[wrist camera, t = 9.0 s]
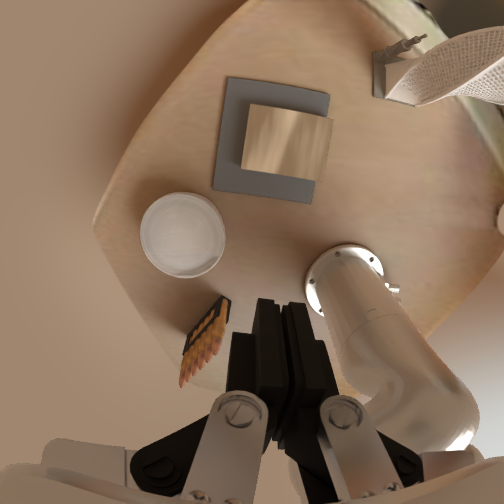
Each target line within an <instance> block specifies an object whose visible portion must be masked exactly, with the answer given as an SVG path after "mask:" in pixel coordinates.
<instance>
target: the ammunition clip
mask: <svg viewBox="0 0 504 504" xmlns="http://www.w3.org/2000/svg"><path fill="white" fill-rule="evenodd" d="M230 307H231V301H230V300H228V299H227V298H225V297H224V296H221V297H220V298H219V299H218V300H217V301H216V303H215V304H214V305H213V306H212V307H211V308H210V310H209V311H208V312H207V313H206V314H205V316H204V317H203V318H202V319H201V320H200V321H199V323H198V324H197V325H196V326H195V327H194V328H193V330H192V331H191V332H190V333H189V334H188V336H187V339H186V343H185V346H184V350H183V354H182V355H183V360H182V364H181V372H180V377H179V385H180V388H182V387H183V386H184V385H185V383H186V382H189V380H190V379H191V377H192V376H195V375H196V374H197V372H198V370H201V369H202V368H203V366H204V365H205V362H206V363H208V362H209V361H210V360H211V358H212V355H213V354H214V355H216V354H217V353H218V351H219V349H220V346H221V342H222V338H223V336H224V333H225V326H226V324H227V323H228V320H229V314H230Z"/></svg>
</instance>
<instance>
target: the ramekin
mask: <svg viewBox="0 0 504 504" xmlns="http://www.w3.org/2000/svg"><path fill="white" fill-rule="evenodd" d="M140 241H141V246H142V249H143V251H144V253H145V255H146V256H147V258H148V259H149V261H150V262H151V263H152V264H153V265H154V266H155V267H156V268H157V269H159V270H160V271H162V272H164V273H166V274H168V275H170V276H173V277H178V278H194V277H198V276H201V275H203V274H205V273H207V272H208V271H210V270H211V269H212V268H213V267H214V266H215V265H216V264H217V263H218V261H219V260H220V258H221V256H222V254H223V251H224V248H225V243H226V233H225V227H224V223H223V221H222V217H221V215H220V213H219V211H218V210H217V208H216V207H215V205H214V204H213V203H212V202H211V201H210V200H208V199H207V198H205V197H204V196H201V195H199V194H195V193H190V192H174V193H170V194H167V195H164V196H162V197H160V198H159V199H157V200H156V201H154V202H153V203H152V204H151V205H150V206H149V208H148V209H147V210H146V212H145V213H144V215H143V218H142V221H141V224H140Z"/></svg>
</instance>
